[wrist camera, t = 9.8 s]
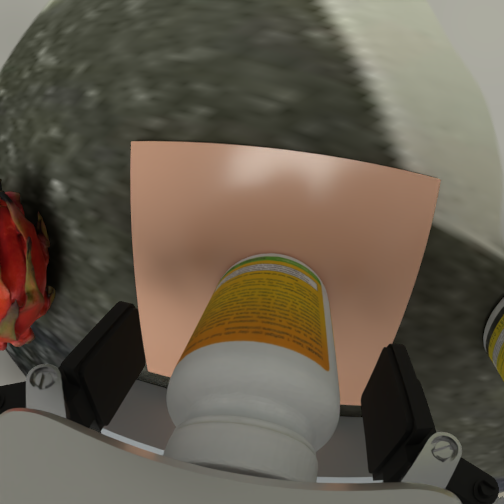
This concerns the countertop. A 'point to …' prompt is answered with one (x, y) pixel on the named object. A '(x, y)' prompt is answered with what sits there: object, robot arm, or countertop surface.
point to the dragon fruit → (21, 272)
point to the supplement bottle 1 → (258, 374)
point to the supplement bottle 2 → (495, 337)
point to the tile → (275, 239)
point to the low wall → (161, 427)
